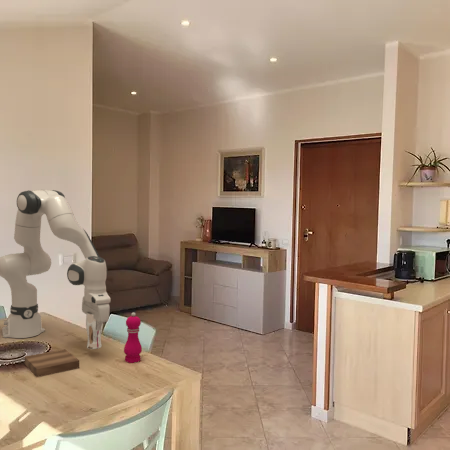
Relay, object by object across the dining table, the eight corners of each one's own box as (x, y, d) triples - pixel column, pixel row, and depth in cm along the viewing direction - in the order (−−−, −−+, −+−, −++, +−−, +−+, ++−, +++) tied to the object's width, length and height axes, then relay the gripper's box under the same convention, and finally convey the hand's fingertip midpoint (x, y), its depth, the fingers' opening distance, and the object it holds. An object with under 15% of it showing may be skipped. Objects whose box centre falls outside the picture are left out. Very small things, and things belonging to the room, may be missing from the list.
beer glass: (89, 350, 193) (90, 315, 191) (82, 346, 198) (83, 311, 197) (105, 347, 197) (106, 312, 196) (98, 342, 203) (98, 309, 201)
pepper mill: (135, 356, 197) (136, 309, 196) (145, 360, 192) (145, 312, 191) (120, 359, 192) (121, 312, 191) (130, 364, 187) (130, 315, 186)
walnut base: (24, 364, 184) (24, 356, 184) (64, 356, 194) (64, 349, 194) (37, 377, 172) (37, 369, 172) (79, 367, 182) (79, 360, 182)
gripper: (78, 291, 202) (77, 322, 203) (97, 301, 186) (97, 335, 187) (92, 289, 206) (91, 320, 207) (112, 299, 190) (111, 332, 191)
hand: (94, 327), depth 197 cm, fingers closed on beer glass, 7 cm apart
